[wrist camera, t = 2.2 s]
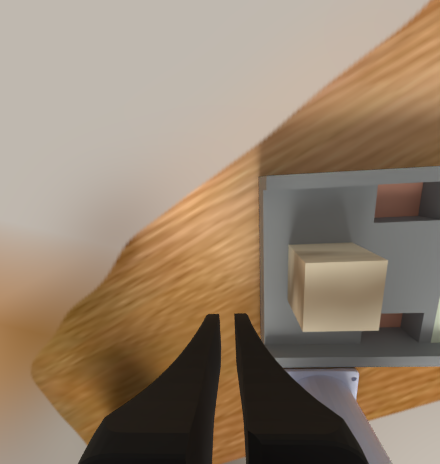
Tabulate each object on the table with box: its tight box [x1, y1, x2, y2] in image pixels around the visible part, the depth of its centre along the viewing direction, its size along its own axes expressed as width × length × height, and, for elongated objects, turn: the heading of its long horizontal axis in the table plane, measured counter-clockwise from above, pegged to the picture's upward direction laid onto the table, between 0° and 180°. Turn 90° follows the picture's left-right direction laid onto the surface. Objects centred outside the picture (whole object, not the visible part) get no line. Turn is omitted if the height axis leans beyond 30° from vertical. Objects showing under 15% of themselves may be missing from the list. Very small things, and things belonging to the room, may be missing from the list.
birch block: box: [287, 242, 388, 332], centre depth 16 cm, size 5×5×4 cm
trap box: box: [259, 166, 440, 368], centre depth 18 cm, size 16×27×4 cm, turn 93°
